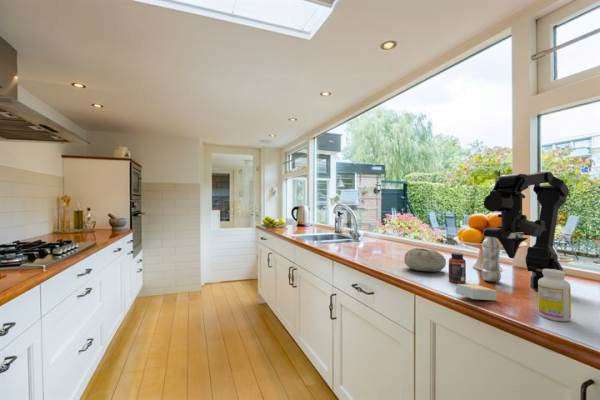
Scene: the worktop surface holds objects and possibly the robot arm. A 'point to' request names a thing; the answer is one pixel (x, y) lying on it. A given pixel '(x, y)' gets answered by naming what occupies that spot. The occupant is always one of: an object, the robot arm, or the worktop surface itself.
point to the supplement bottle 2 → (554, 296)
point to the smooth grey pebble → (424, 260)
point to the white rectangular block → (476, 292)
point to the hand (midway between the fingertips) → (511, 258)
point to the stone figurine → (491, 259)
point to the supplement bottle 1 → (457, 268)
